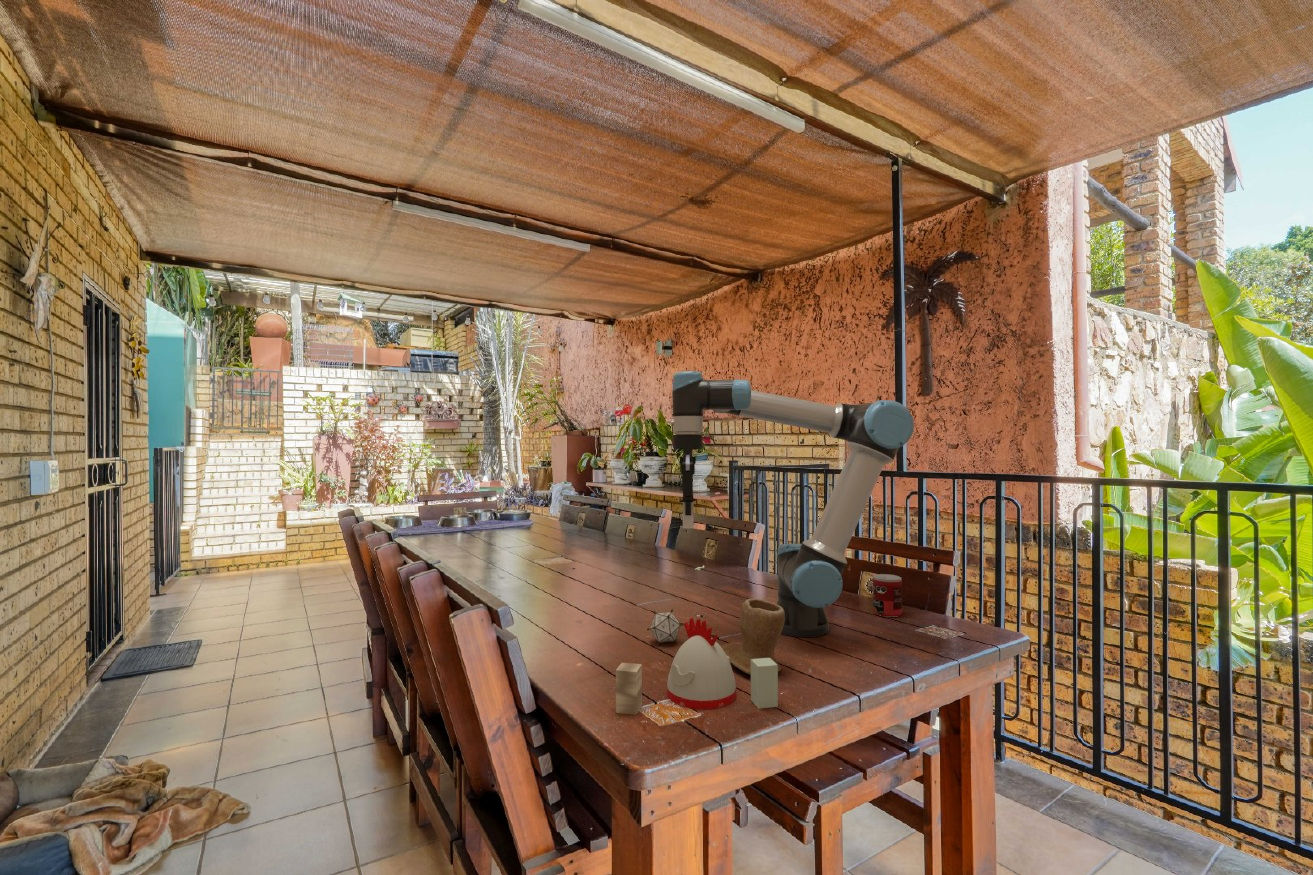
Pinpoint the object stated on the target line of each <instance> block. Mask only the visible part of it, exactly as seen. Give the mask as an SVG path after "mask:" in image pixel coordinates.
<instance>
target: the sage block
mask: <svg viewBox="0 0 1313 875" xmlns="http://www.w3.org/2000/svg"><path fill="white" fill-rule="evenodd" d="M778 674H779V672H778V665H777V664H776V663H775V662H774V661H773V660H772V659H771V658H760V659H751V675H750V701H751V702H752V703H753V704H754V706H755V707H756V708H757V709H758V710H759V709H771V708H778V707H779V680H778V679H779V675H778Z"/></svg>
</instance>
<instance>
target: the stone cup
mask: <svg viewBox="0 0 1313 875" xmlns="http://www.w3.org/2000/svg"><path fill="white" fill-rule="evenodd" d="M739 615H740V616H739V629H740V636H741V637H740V638H741V642H729V643H725V644H723V645H720V646H721V648H722V649H723V650H724V652H725V654H726V656H729V657H730V664H731V665H732V666H734V667H736V668H738V669H739V670H741V672H743V673H746V674H748V675H750V676H751V659H760V658H771V659H772V660H773V661H774V662H775V663H776V664H777V665H778V673H779V672H780V671H781V669H782V666H781V665H780V664H779V662H778V661H777V659H775V649H776V646H777V645H778V641H779V639H780V637H781V635H782V634H781V632H782V629H783V626H784V623H785V612H784V609H783V608H782V607H781V606H779V605H777V604H776V603H774V602H772V601H768V600H764V599H759V598H752V597H751V598H748V599H745V600H744V601H743V603H742V604H741V608H740V613H739Z"/></svg>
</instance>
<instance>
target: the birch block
mask: <svg viewBox="0 0 1313 875" xmlns="http://www.w3.org/2000/svg"><path fill="white" fill-rule="evenodd" d="M642 666H643V665H642V664H641V663H632V662H631V663H630V662H621V663H620V664H619V665H618V667H617V668H616V669H615V713H616V714H623V715H635V716H637V715H638V713H639V711H640V710H641V709H642V706H643V667H642Z"/></svg>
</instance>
